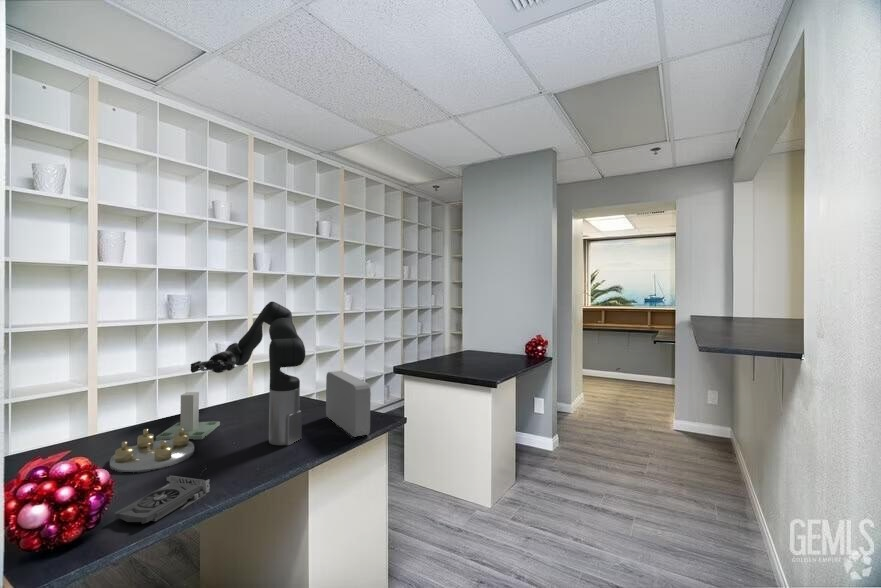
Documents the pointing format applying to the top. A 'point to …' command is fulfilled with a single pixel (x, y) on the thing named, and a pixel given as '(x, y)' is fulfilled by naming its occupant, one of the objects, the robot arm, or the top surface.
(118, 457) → the chassis
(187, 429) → the plate with upright post
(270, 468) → the top surface
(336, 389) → the gray rounded box
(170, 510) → the graphics card
